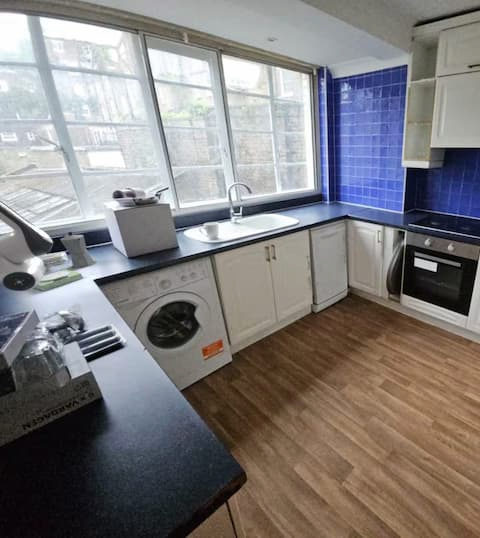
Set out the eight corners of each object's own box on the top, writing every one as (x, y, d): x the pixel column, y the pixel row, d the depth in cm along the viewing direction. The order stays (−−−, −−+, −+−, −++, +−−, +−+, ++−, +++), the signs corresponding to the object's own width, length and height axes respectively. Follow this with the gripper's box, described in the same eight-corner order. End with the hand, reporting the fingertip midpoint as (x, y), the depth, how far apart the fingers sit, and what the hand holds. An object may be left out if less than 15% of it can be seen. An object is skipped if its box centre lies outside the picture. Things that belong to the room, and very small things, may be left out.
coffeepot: (101, 262, 157) (87, 230, 150) (80, 269, 150) (65, 235, 142) (85, 259, 163) (71, 228, 156) (64, 265, 155) (48, 233, 148)
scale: (44, 290, 128) (41, 284, 127) (29, 285, 133) (26, 279, 132) (82, 277, 139) (80, 272, 138) (67, 273, 145) (64, 268, 144)
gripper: (62, 253, 112) (65, 244, 122) (-19, 267, 100) (-8, 257, 110) (69, 268, 114) (72, 259, 124) (-9, 284, 102) (1, 272, 112)
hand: (34, 258), depth 117 cm, fingers closed on can, 7 cm apart
